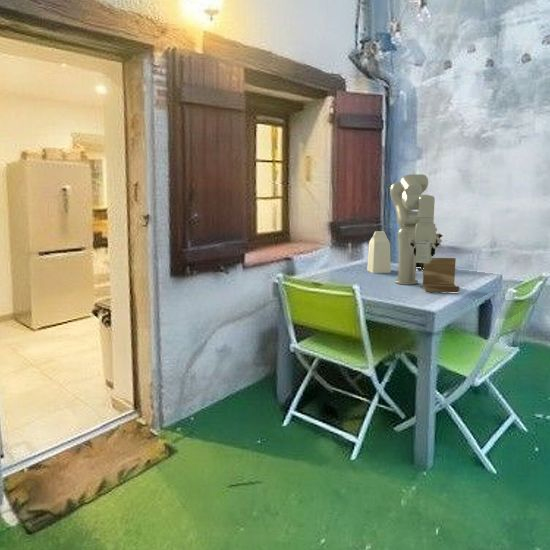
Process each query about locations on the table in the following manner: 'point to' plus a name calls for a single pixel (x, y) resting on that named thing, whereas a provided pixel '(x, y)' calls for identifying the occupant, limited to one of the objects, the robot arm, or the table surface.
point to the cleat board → (440, 275)
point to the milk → (379, 254)
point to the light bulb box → (423, 251)
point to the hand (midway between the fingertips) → (424, 255)
